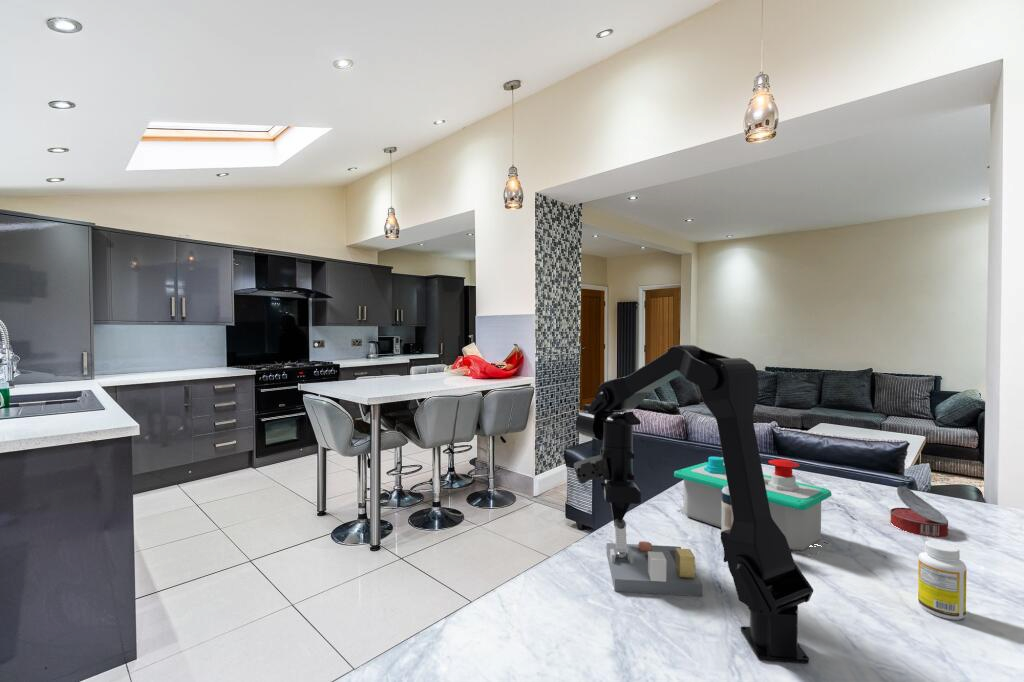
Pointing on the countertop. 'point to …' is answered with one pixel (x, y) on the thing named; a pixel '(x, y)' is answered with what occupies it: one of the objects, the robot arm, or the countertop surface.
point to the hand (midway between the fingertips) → (617, 524)
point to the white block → (657, 566)
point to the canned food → (918, 516)
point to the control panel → (787, 501)
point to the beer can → (726, 510)
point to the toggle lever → (620, 538)
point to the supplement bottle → (942, 581)
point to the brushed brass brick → (685, 563)
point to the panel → (635, 571)
